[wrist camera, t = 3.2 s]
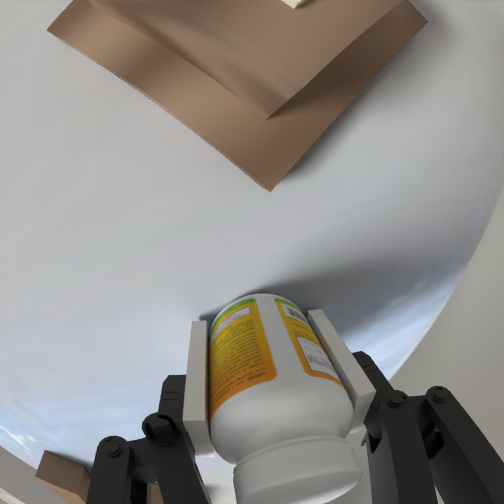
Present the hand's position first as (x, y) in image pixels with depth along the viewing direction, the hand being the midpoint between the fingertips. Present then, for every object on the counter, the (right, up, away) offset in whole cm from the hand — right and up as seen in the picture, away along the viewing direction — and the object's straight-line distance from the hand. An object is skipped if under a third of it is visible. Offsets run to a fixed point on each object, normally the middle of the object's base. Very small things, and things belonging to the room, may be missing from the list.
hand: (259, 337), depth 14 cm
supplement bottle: (0, 0, 0) cm, 1 cm away
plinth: (-1, +17, -5) cm, 18 cm away
